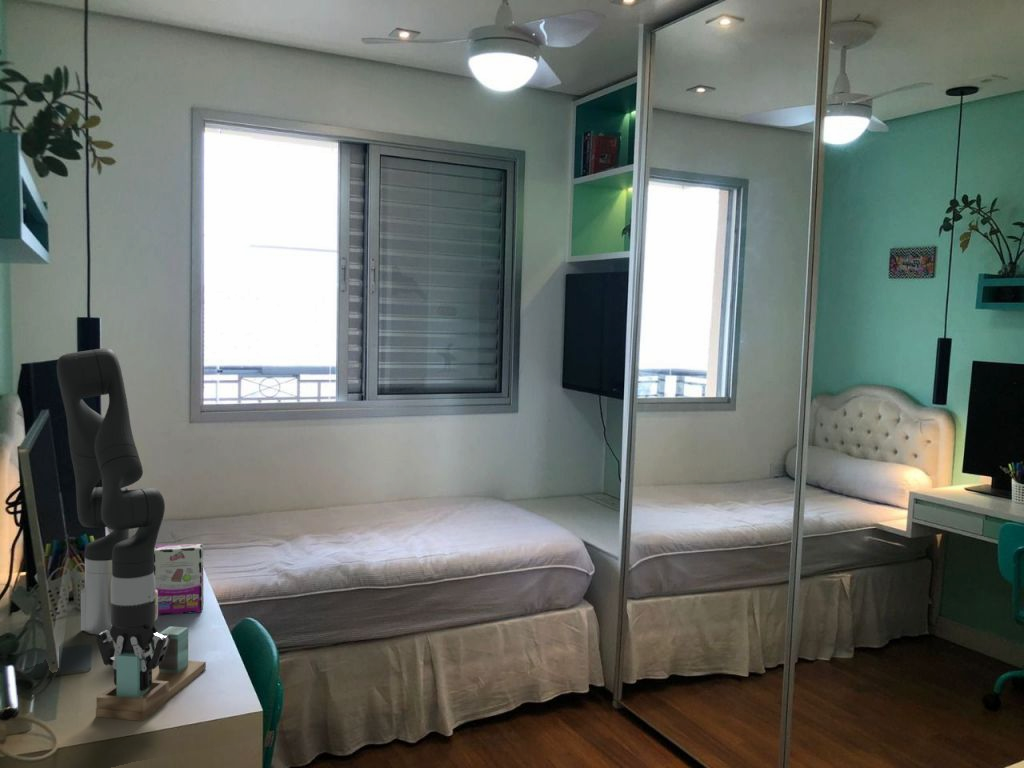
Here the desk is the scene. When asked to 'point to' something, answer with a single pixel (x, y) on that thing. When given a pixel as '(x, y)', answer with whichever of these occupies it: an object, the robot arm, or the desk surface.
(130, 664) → the teal rectangular prism
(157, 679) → the wooden tray with block
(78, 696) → the desk surface
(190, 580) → the candy bar box
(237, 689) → the desk surface
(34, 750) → the desk surface
